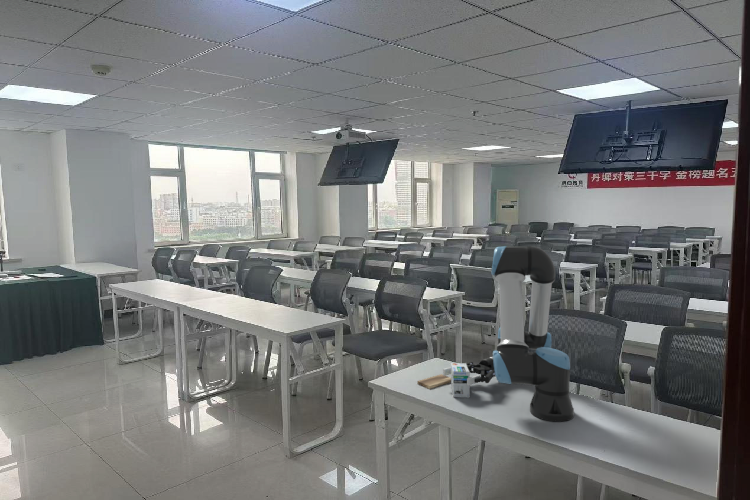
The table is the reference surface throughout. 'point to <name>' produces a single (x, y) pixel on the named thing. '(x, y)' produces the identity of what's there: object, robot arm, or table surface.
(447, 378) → the subfloor panel
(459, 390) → the light bulb box
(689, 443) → the table surface
